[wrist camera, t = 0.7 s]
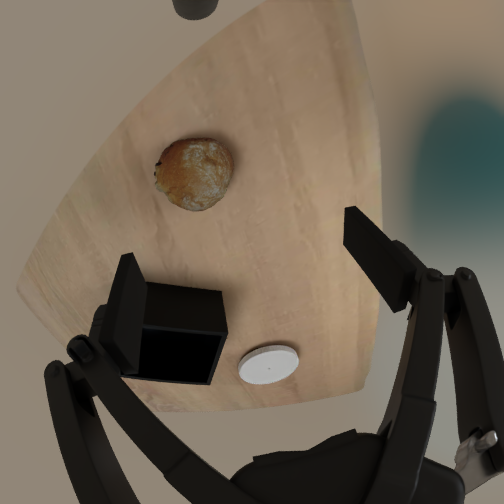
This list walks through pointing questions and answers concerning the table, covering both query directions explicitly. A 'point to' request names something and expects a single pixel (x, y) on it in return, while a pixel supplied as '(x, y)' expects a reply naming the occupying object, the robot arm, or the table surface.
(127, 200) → the table surface
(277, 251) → the table surface
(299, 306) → the table surface
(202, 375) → the black storage bin
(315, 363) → the table surface
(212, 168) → the bread roll
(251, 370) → the plastic lid
